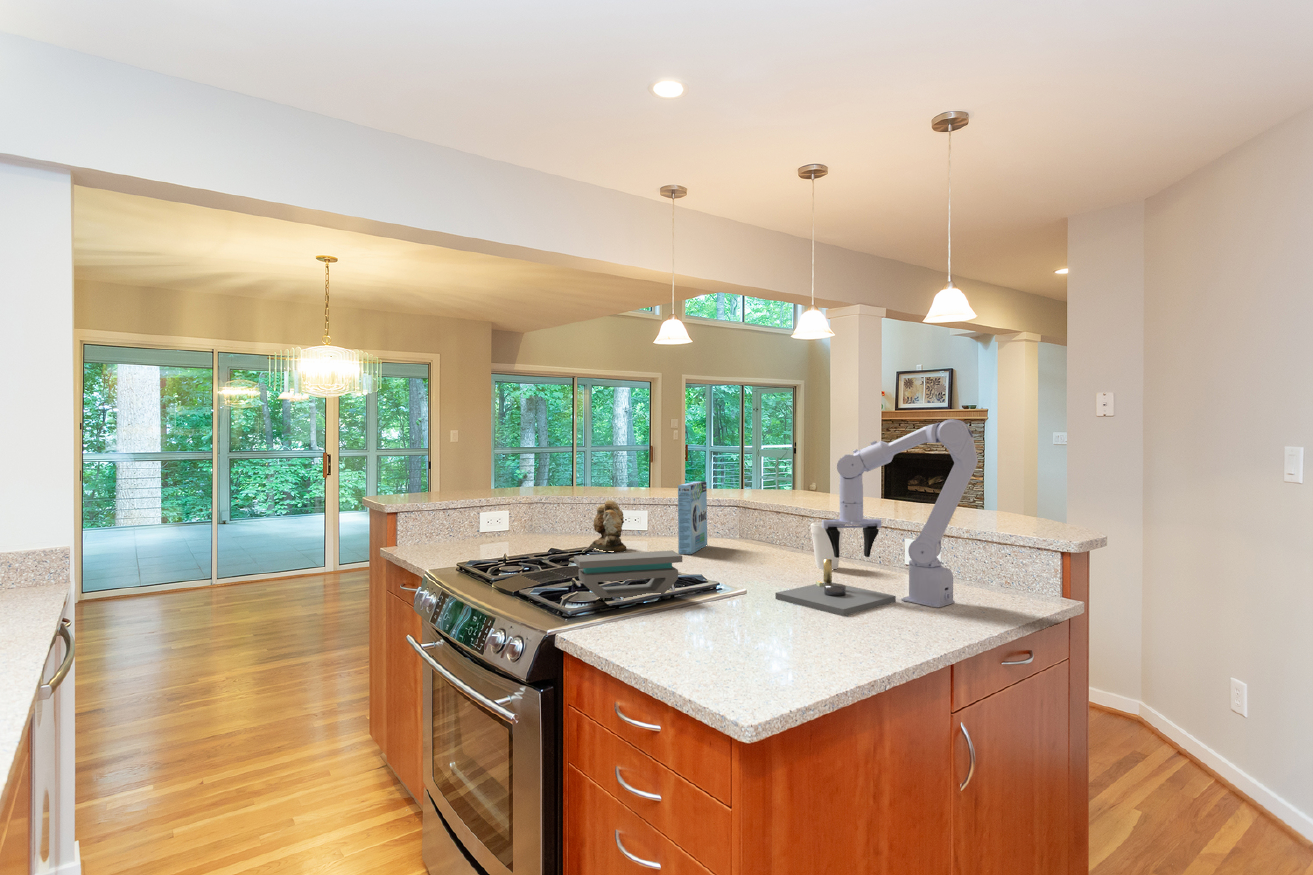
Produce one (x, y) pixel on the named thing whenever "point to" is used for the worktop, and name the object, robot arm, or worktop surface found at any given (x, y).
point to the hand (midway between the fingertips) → (851, 556)
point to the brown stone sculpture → (609, 527)
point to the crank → (829, 587)
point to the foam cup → (824, 546)
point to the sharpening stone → (628, 572)
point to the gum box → (692, 517)
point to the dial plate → (835, 599)
